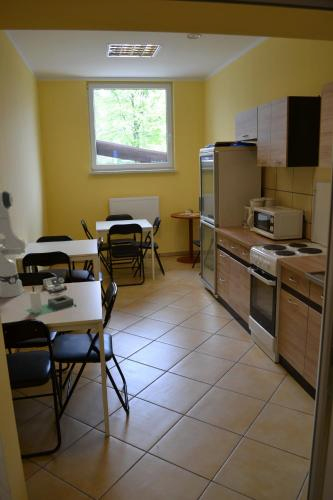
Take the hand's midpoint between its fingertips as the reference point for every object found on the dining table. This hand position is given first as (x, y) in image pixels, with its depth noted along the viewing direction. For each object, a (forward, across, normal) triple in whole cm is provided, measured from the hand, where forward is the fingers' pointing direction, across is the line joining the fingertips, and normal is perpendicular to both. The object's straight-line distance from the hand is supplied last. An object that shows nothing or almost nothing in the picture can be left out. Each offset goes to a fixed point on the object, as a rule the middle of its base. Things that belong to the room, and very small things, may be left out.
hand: (19, 251), depth 237 cm
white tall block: (+6, -7, +36) cm, 37 cm away
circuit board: (+15, -8, +35) cm, 39 cm away
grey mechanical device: (+40, +22, +27) cm, 53 cm away
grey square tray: (+22, -10, +34) cm, 42 cm away
